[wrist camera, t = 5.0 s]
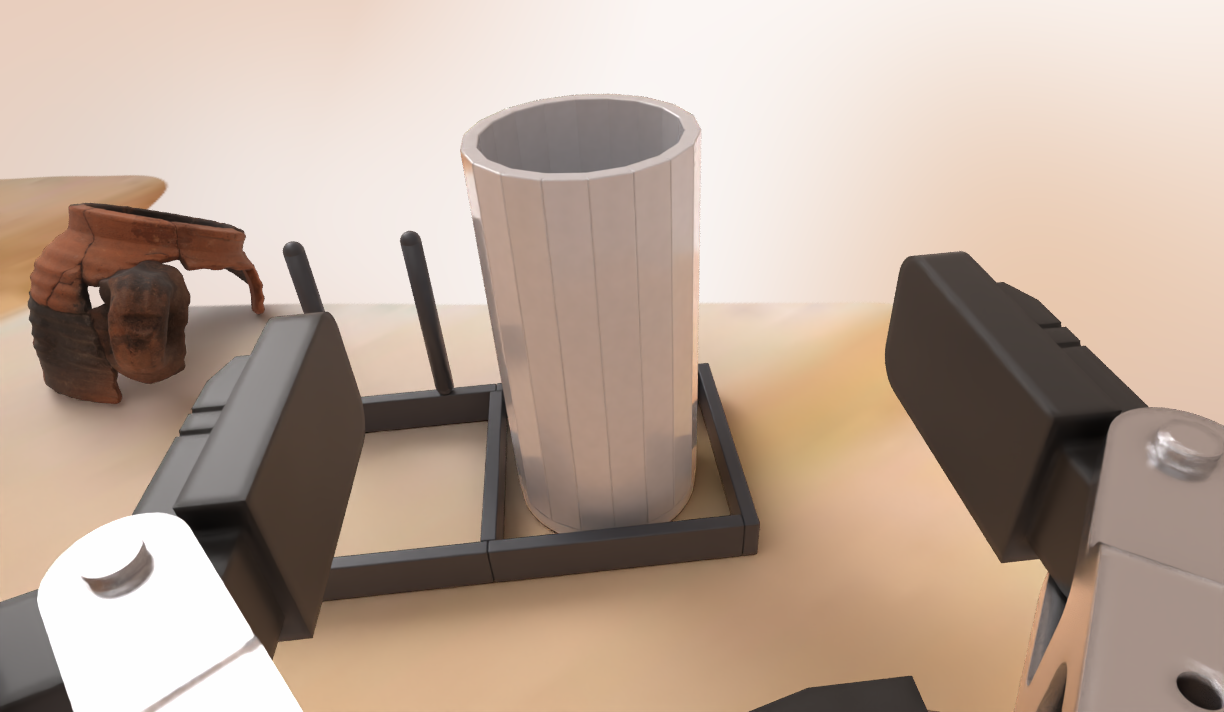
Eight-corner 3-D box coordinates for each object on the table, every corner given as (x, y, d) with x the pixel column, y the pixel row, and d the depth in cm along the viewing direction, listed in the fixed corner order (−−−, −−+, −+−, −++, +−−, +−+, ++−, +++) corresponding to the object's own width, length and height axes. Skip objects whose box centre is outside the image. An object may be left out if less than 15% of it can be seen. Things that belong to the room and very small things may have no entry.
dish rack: (223, 612, 24) (103, 406, 19) (292, 430, 31) (216, 244, 26) (757, 554, 25) (776, 340, 20) (707, 389, 32) (712, 200, 27)
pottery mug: (26, 360, 37) (38, 191, 36) (237, 369, 43) (254, 223, 42) (13, 434, 28) (29, 208, 27) (286, 434, 34) (310, 247, 32)
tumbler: (520, 554, 26) (451, 191, 18) (522, 426, 31) (468, 103, 23) (710, 533, 26) (722, 167, 18) (679, 410, 31) (678, 85, 23)
